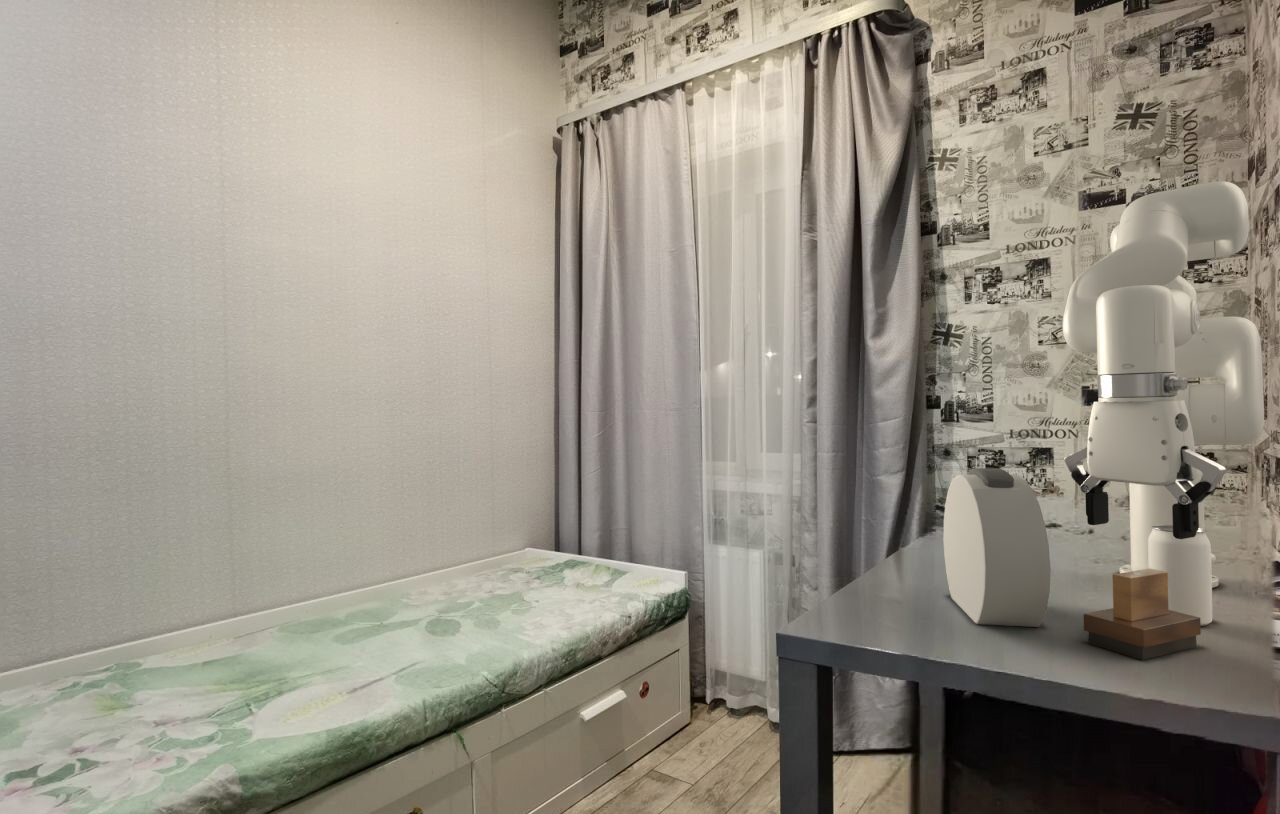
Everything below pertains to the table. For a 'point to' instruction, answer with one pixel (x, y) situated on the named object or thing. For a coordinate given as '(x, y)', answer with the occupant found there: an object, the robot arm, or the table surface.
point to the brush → (1141, 618)
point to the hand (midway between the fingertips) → (1139, 530)
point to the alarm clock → (996, 549)
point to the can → (1184, 570)
